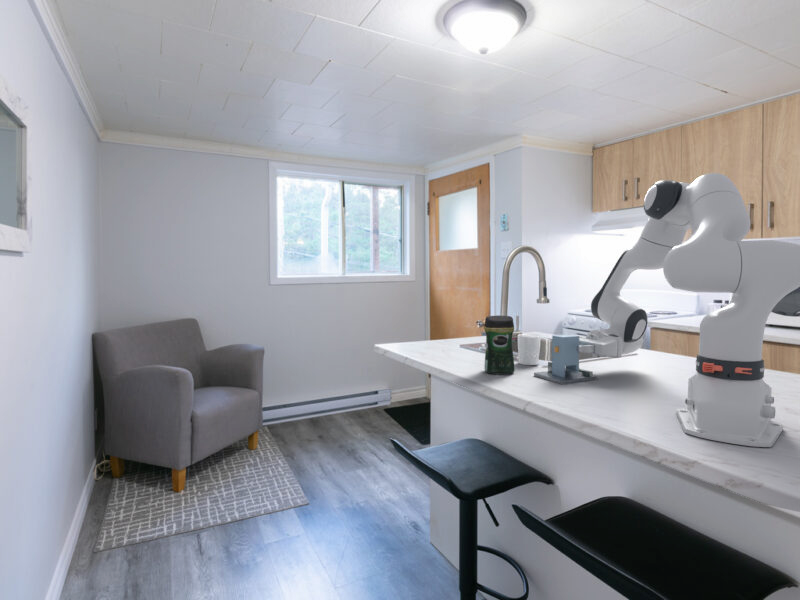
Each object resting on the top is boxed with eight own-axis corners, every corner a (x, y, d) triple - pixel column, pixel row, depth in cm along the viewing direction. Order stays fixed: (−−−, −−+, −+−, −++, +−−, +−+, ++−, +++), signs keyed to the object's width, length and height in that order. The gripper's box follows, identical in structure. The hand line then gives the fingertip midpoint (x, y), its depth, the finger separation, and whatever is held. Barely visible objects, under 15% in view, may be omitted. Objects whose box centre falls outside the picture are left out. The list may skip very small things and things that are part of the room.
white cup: (544, 363, 166) (544, 335, 165) (533, 366, 160) (534, 337, 159) (524, 360, 171) (524, 333, 170) (513, 363, 165) (513, 335, 165)
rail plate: (597, 379, 141) (597, 366, 141) (561, 384, 135) (562, 370, 135) (567, 371, 152) (568, 359, 152) (534, 375, 146) (534, 363, 146)
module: (578, 374, 143) (579, 335, 142) (560, 377, 140) (561, 337, 139) (567, 371, 147) (568, 334, 146) (550, 374, 144) (550, 335, 143)
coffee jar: (512, 369, 155) (512, 314, 154) (515, 375, 147) (516, 316, 146) (483, 369, 156) (483, 314, 155) (485, 374, 148) (485, 316, 147)
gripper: (574, 329, 158) (542, 332, 152) (626, 337, 139) (592, 340, 134) (574, 348, 158) (542, 351, 153) (625, 358, 140) (592, 362, 134)
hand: (566, 346), depth 143 cm, fingers open, 8 cm apart
